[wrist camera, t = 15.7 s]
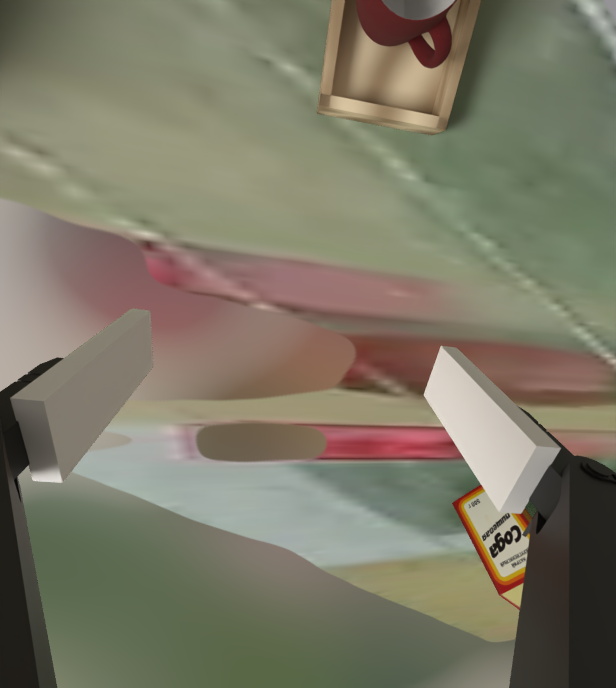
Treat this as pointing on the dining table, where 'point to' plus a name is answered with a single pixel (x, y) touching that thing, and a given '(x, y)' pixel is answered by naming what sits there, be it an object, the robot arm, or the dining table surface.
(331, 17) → the wooden tray
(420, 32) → the mug
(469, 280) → the dining table surface
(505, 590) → the baking soda box
